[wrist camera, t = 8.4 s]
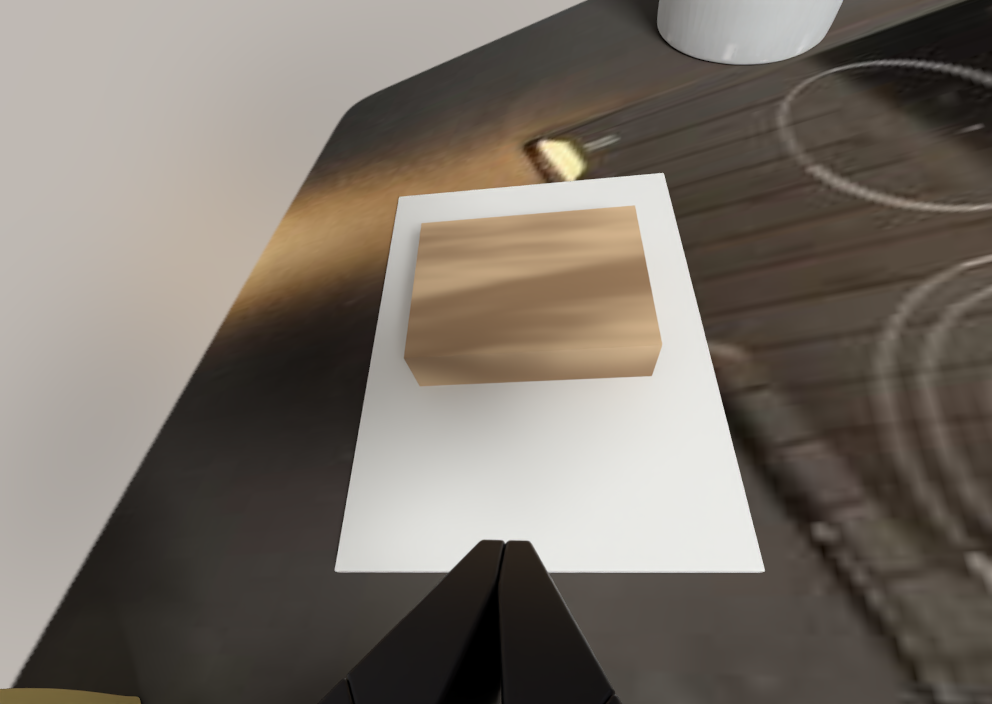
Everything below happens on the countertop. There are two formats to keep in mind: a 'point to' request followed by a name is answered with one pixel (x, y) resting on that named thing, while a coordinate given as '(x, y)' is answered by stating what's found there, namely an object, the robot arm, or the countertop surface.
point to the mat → (549, 430)
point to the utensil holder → (745, 28)
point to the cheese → (61, 697)
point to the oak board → (532, 299)
